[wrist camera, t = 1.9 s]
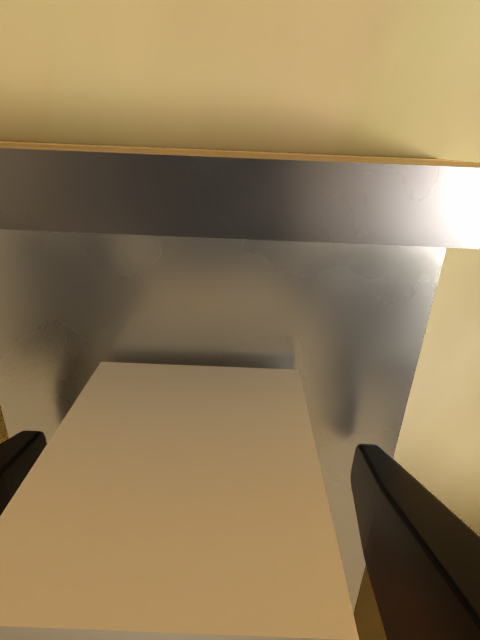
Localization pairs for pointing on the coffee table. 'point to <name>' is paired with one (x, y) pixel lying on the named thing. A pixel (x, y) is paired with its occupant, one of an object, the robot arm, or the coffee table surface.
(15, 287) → the gray display stand
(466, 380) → the coffee table surface
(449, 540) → the robot arm
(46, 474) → the cream rectangular block
